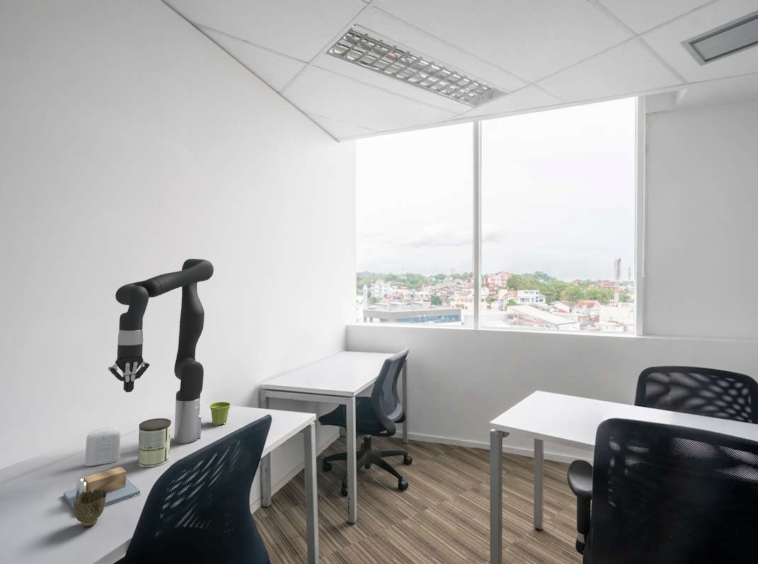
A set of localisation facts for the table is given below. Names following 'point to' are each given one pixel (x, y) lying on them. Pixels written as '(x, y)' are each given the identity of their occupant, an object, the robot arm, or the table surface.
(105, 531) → the table surface
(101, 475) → the flange bar
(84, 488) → the dowel pins
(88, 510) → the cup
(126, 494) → the base board
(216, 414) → the plant pot
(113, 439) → the photo printer
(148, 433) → the coffee can
